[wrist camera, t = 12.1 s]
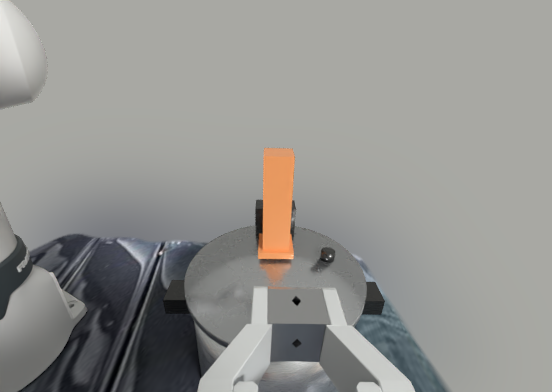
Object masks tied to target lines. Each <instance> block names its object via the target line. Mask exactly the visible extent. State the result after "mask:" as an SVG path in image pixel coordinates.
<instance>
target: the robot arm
mask: <svg viewBox="0 0 552 392" xmlns="http://www.w3.org/2000/svg"><path fill="white" fill-rule="evenodd" d="M47 67H48V66H47V57H46V53H45V49H44V47H43V44H42V42H41V40H40V38H39V36H38V34H37V33H36V30H35V29H34V27H33V26H32V24H31V23H30V22H29V20H28V19H27V18H26V17H25V16H24V14H23V13H22V12H21V11H20V10H19V9H18V8H17V7H16V6H15V5H14V4H13V3H12V2H11V1H10V0H0V109H5V108H9V107H13V106H18V105H22V104H26V103H31V102H33V101H34V100H35V99H36V98H37V97H38V96H39V94H40V93H41V91H42V89H43V87H44V85H45V81H46V78H47ZM86 312H87V307H86V306H85V304H84V303H83V302H81V301H80V300H78V299H77V298H75V297H73V296H72V295H70V294H69V293H67V292H66V291H64V290H62V289H61V288H60V285H59V283H58V281H57V279H56V277H55V275H54V274H53V272H48V271H46V270H45V269H43V268H41V267H38V266H35V265H33V263H32V260H31V258H30V253H29V250H28V248H27V247H26V245H25V244H24V243H23V241H22V239H21V238H20V237H19V236H17V235H15V234H14V233H13V230H12V228H11V226H10V224H9V221H8V219H7V217H6V215H5V212H4V210H3V208H2V205H1V203H0V392H18V391H19V390H21V389H22V388H24V387H25V386H26V385H28V384H29V383H30V382H32V381H33V380H34V379H35V378H37V377H38V376H39V375H40V374H41V373H42V372H43V371H45V370H46V369H47V368H48V367H49V366H50V365H51V364H52V362H53V361H54V360H55V359H56V358H57V357H58V355H59V354H60V353H61V351H62V350H63V348H64V347H65V345H66V343H67V341H68V339H69V337H70V334H71V332H72V330H73V328H74V326H75V325H76V324H77V323H78V322H79V321H80V320H81V319H82V317H83V316H84V315H85V314H86ZM285 361H299V362H319V364H320V365H321V367H322V368H323V370H324V371H325V373H326V374H327V376H328V377H329V378H330V380H331V381H332V383H333V384H334V386H335V387H336V388H337V390H338V391H339V392H415V390H414V388H413V386H412V384H411V381H410V380H408V379H407V378H406V377H405V376H404V375H403V374H402V373H401V372H400V371H399V370H398V369H397V368H396V367H395V366H394V365H393V364H392V363H391V362H389V361H388V360H387V359H386V358H385V357H384V356H383V355H382V354H381V353H380V352H379V351H378V350H377V349H376V348H375V347H374V346H373V345H372V344H370V343H369V342H368V341H367V340H366V339H365V338H364V337H363V336H362V335H361V334H360V333H359V332H358V331H357V330H356V329H355V328H354V327H353V326H351V325H347V323H346V320H345V317H344V313H343V310H342V307H341V303H340V300H339V297H338V294H337V290H336V289H335V288H325V287H321V288H317V287H273V286H268V288H267V287H265V286H254V287H253V296H252V310H251V324H246V325H245V326H244V327H243V329H242V330H241V331H240V332H239V333H238V335H237V336H236V337H235V338H234V339H233V341H232V342H231V343H230V344H229V345H228V347H227V348H226V349H225V350H224V351H223V353H222V354H221V355H220V356H219V358H218V359H217V360H216V361H215V362H214V364H213V365H212V366H211V367H210V368H209V370H208V371H207V372H206V373H205V374H204V376H203V377H202V378H201V379H200V383H199V387H198V392H258V384H259V382H260V380H261V379H262V377H263V375H264V373H265V371H266V370H267V368H268V366H269V364H270V362H285Z"/></svg>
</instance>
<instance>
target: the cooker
mask: <svg viewBox="0 0 552 392" xmlns="http://www.w3.org/2000/svg"><path fill="white" fill-rule="evenodd" d="M295 214H296V208H295V203H294V201H293V200H292V211H291V227H290V234H291V236H292V244H293V251H294V258H293V259H258V244H259V233H263V200H256V225H255V226H249V227H245V228H240V229H237V230H234V231H231V232H229V233H226V234H224V235H221V236H219V237H218V238H216V239H214V240H213V241H211V242H209V243H208V244H207V245H206V246H204V247H203V248H202V249H201V250H200V251H199V252H198V253H197V254H196V255H195V257H194V258H193V260H192V261H191V263H190V265H189V267H188V269H187V272H186V275H185V280H172V282H171V284H170V286H169V288H168V290H167V292H166V295H165V297H164V299H163V302H164V307H165V313H167V314H191V316H192V318H193V320H194V324H195V331H196V339H197V346H198V354H199V361H200V369H201V377H203V376H204V374H205V373H206V372H207V371H208V370H209V368H210V367H211V366H212V365H213V364H214V362H215V361H216V360H217V359H218V358H219V356H220V355H221V354H222V353H223V351H224V350H225V349H226V348H227V347H228V345H229V344H230V343H231V342H232V341H233V339H234V338H235V337H236V336H237V335H238V333H239V332H240V331H241V330H242V329H243V327H244V326H245V325H246V324H251V310H252V296H253V287H254V286H265V287H267V288H268V286H273V287H317V288H321V287H325V288H335V289H336V290H337V294H338V297H339V300H340V303H341V307H342V310H343V313H344V317H345V320H346V323H347V325H351V326H353V327H355V326H356V324H357V323H358V321H359V319H360V317H361V315H362V314H381V313H382V309H383V306H384V302H385V301H384V299H383V297H382V295H381V293H380V291H379V289H378V287H377V285H376V283H375V282H366V280H365V276H364V273H363V271H362V269H361V267H360V265H359V263H358V262H357V261H356V259H355V258H354V257H353V256H352V255H351V254H350V253H349V251H348V250H346V249H345V248H344V247H343V246H341V245H340V244H338V243H337V242H335V241H334V240H332V239H330V238H329V237H327V236H325V235H322V234H320V233H317V232H315V231H312V230H309V229H305V228H301V227H296V226H295ZM258 392H339V391H338V390H337V388H336V387H335V386H334V384H333V383H332V381H331V380H330V378H329V377H328V376H327V374H326V373H325V371H324V370H323V368H322V367H321V365H320V364H319V362H299V361H285V362H270V364H269V366H268V368H267V370H266V371H265V373H264V375H263V377H262V379H261V380H260V382H259V384H258Z"/></svg>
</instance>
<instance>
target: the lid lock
mask: <svg viewBox="0 0 552 392" xmlns="http://www.w3.org/2000/svg"><path fill="white" fill-rule="evenodd" d="M294 160H295V156H294V152H293V149H284V148H283V149H282V148H264V173H263V174H264V175H263V177H264V178H263V179H264V180H263V233H259V244H258V259H293V258H294V251H293V244H292V236H291V234H290V227H291V211H292V194H293V178H294Z"/></svg>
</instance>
